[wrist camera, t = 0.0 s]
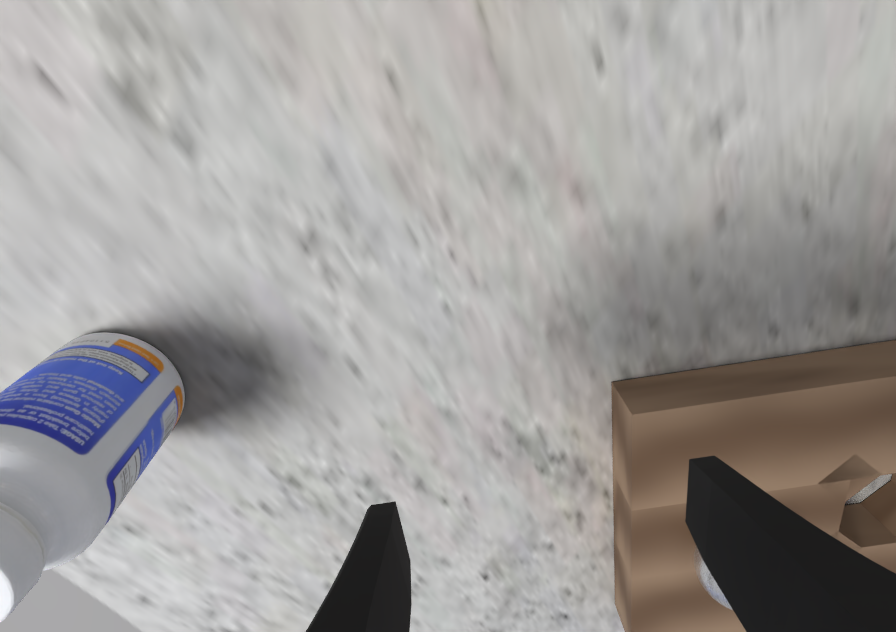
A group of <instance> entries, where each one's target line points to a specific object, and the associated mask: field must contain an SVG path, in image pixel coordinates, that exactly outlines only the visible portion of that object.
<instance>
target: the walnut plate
mask: <svg viewBox="0 0 896 632" xmlns="http://www.w3.org/2000/svg"><path fill="white" fill-rule="evenodd" d="M612 439H613V502H614V565H615V605H616V608H617V611H618V614H619V616H620V619H621V622H622V624H623V627H624V630H625V632H746V630H745V629H744V627H743V625H742V624H741V622H740V620H739V619H738V617H737V616H736V614H735V612H734V611H733V610H731V609H729V608H727V607H725V606H723V605H721V604H720V603H718V602H717V601H716V600H714V599H713V598H712V597H711V596H710V595H709V594H708V593H707V591H706V590H705V589H704V587H703V586H702V584H701V583H700V581H699V579H698V576H697V574H696V571H695V566H694V551H695V547H696V544H695V542H694V540H693V537H692V535H691V533H690V531H689V529H688V526H687V524H686V522H685V519H686V503H687V487H688V471H689V459H693V458H700V457H707V456H714V455H715V456H716V457H717V458H719V459H720V460H722V461H723V462H725V463H726V464H727V465H729V466H730V467H732V468H733V469H734V470H736V471H737V472H738V473H740V474H741V475H743V476H744V477H745V478H747V479H748V480H750V481H751V482H752V483H754V484H755V485H756V486H758V487H759V488H761V489H762V490H763V491H765V492H766V493H768V494H769V495H771V496H772V497H773V498H775V499H776V500H778V501H779V502H781V503H782V504H783V505H785V506H786V507H788V508H789V509H791V510H792V511H794V512H795V513H797V514H798V515H800V516H801V517H803V518H804V519H806V520H807V521H809V522H810V523H812V524H813V525H815V526H816V527H818V528H819V529H821V530H822V531H824V532H826V533H827V534H829V535H831V536H832V537H834V538H835V539H837V540H839V541H840V542H842V543H843V544H845V545H847V546H848V547H850V548H852V549H853V550H855V551H857V552H858V553H860V554H862V555H863V556H865V557H867V558H869V559H870V560H872V561H874V562H876V563H877V564H879V565H881V566H883V567H885V568H886V569H888V570H890V571H892V572H894V573H896V340H892V341H885V342H879V343H872V344H865V345H858V346H852V347H845V348H838V349H832V350H825V351H818V352H811V353H805V354H798V355H791V356H784V357H778V358H771V359H764V360H757V361H751V362H744V363H737V364H730V365H724V366H717V367H710V368H703V369H697V370H690V371H683V372H676V373H670V374H663V375H656V376H650V377H643V378H636V379H629V380H623V381H616V382H612ZM886 474H892V478H891V481H889V482H888V483H887V484H885V485H884V486H883V487H881V488H880V489H879V490H877V491H876V492H875V493H873V494H872V495H871V496H869V497H868V498H867V499H865V500H864V501H863V502H861V503H858V504H851V505H845V502H846V501H847V500H848V499H850V498H851V497H852V496H854V495H855V494H856V493H858V492H859V491H860V490H862V489H863V488H864V487H866V486H867V485H868V484H870V483H871V482H872V481H874V480H875V479H876V478H877V477H879V476H880V475H886Z"/></svg>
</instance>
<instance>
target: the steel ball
mask: <svg viewBox="0 0 896 632" xmlns="http://www.w3.org/2000/svg"><path fill="white" fill-rule="evenodd" d="M694 566H695V571H696V574H697V576H698V579H699V581H700V583H701V584H702V586H703V587H704V589H705V590H706V591H707V593H708V594H709V595H710V596H711V597H712V598H713V599H714V600H716V601H717V602H718V603H720V604H721V605H723V606H725V607H727V608H729V609H731V610H733V609H732V607H731V606H730V604H729V603H728V601H727V599H726V598H725V596H724V594H723V593H722V591H721V590H720V588H719V586H718V585H717V583H716V581H715V580H714V578H713V576H712V575H711V573H710V571H709V570H708V568H707V566H706V565H705V563H704V561H703V559H702V557H701V555H700V552H699V550H698V548H697V546H696V547H695V551H694Z"/></svg>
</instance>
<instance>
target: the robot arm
mask: <svg viewBox="0 0 896 632" xmlns="http://www.w3.org/2000/svg"><path fill="white" fill-rule="evenodd" d="M685 522H686V524H687V526H688V529H689V531H690V533H691V535H692V537H693V540H694V542H695V544H696V546H697V548H698V550H699V552H700V555H701V557H702V559H703V561H704V563H705V565H706V566H707V568H708V570H709V571H710V573H711V575H712V576H713V578H714V580H715V581H716V583H717V585H718V586H719V588H720V590H721V591H722V593H723V594H724V596H725V598H726V599H727V601H728V603H729V604H730V606H731V607H732V609H733V611H734V612H735V614H736V616H737V617H738V619H739V620H740V622H741V624H742V625H743V627H744V629H745V630H746V632H896V573H894V572H892V571H890V570H888V569H886V568H885V567H883V566H881V565H879V564H877V563H876V562H874V561H872V560H870V559H869V558H867V557H865V556H863V555H862V554H860V553H858V552H857V551H855V550H853V549H852V548H850V547H848V546H847V545H845V544H843V543H842V542H840V541H839V540H837V539H835V538H834V537H832V536H831V535H829V534H827V533H826V532H824V531H822V530H821V529H819V528H818V527H816V526H815V525H813V524H812V523H810V522H809V521H807V520H806V519H804V518H803V517H801V516H800V515H798V514H797V513H795V512H794V511H792V510H791V509H789V508H788V507H786V506H785V505H783V504H782V503H781V502H779V501H778V500H776V499H775V498H773V497H772V496H771V495H769V494H768V493H766V492H765V491H763V490H762V489H761V488H759V487H758V486H756V485H755V484H754V483H752V482H751V481H750V480H748V479H747V478H745V477H744V476H743V475H741V474H740V473H738V472H737V471H736V470H734V469H733V468H732V467H730V466H729V465H727V464H726V463H725V462H723V461H722V460H720V459H719V458H717V457H716V456H715V455H714V456H707V457H700V458H693V459H689V471H688V487H687V503H686V519H685ZM410 615H411V569H410V558H409V554H408V550H407V546H406V542H405V538H404V534H403V530H402V526H401V522H400V518H399V514H398V510H397V506H396V502H390V503H383V504H376V505H371V506H370V507H369V508H368V509H367V512H366V514H365V517H364V519H363V522H362V524H361V527H360V529H359V531H358V534H357V536H356V538H355V540H354V543H353V545H352V547H351V549H350V551H349V553H348V555H347V557H346V559H345V561H344V563H343V565H342V567H341V569H340V571H339V573H338V575H337V577H336V579H335V581H334V583H333V585H332V587H331V589H330V591H329V592H328V594H327V596H326V598H325V600H324V601H323V603H322V605H321V607H320V608H319V610H318V612H317V614H316V615H315V617H314V619H313V621H312V622H311V624H310V626H309V627H308V629H307V630H306V632H409V628H410Z"/></svg>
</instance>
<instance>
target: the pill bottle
mask: <svg viewBox="0 0 896 632" xmlns="http://www.w3.org/2000/svg"><path fill="white" fill-rule="evenodd" d="M184 403H185V392H184V387H183V383H182V380H181V378H180V376H179V373H178V372H177V370H176V368H175V367H174V365H173V364H172V363H171V361H170V360H169V359H168V358H167V357H166V356H165V355H164V354H163V353H161V352H160V351H159V350H158V349H156V348H155V347H153V346H152V345H150V344H148V343H146V342H144V341H142V340H139V339H137V338H134V337H131V336H127V335H123V334H118V333H106V332H103V333H92V334H87V335H84V336H81V337H78V338H76V339H74V340H72V341H70V342H68V343H67V344H65V345H64V346H62V347H61V348H59V349H58V350H57V351H55V352H54V353H53V354H51V355H50V356H49V357H47V358H46V359H45V360H43V361H42V362H41V363H39V364H38V365H37V366H36V367H34V368H33V369H31V370H30V371H29V372H28V373H26V374H25V375H24V376H22V377H21V378H20V379H18V380H17V381H16V382H14V383H13V384H12V385H10V386H9V387H8V388H6V389H5V390H4V391H2V392H1V393H0V622H2V621H3V620H4V619H5V618H7V617H8V616H9V615H10V613H12V611H13V610H14V609H15V608H16V606H17V605H18V604H19V603H20V602H21V600H22V599H23V598H24V597H25V596H26V594H27V593H28V592H29V591H30V590H31V589H32V588H33V586H34V585H35V584H36V583H37V582H38V580H39V578H40V576H41V574H42V571H43V570H48V569H51V568H54V567H57V566H60V565H62V564H65V563H67V562H69V561H70V560H72V559H74V558H75V557H77V556H78V555H80V554H81V553H82V552H84V551H85V550H86V549H87V548H88V547H89V546H90V544H91V543H92V542H93V541H94V540H95V538H96V537H97V536H98V534H99V533H100V532H101V530H102V529H103V528H104V526H105V525H106V524H107V522H108V521H109V519H110V518H111V516H112V515H113V514H114V512H115V511H116V509H117V508H118V506H119V505H120V504H121V502H122V501H123V499H124V498H125V497H126V495H127V494H128V492H129V491H130V489H131V488H132V486H133V485H134V484H135V482H136V481H137V479H138V478H139V477H140V475H141V474H142V472H143V471H144V469H145V468H146V467H147V465H148V464H149V462H150V461H151V460H152V458H153V457H154V455H155V454H156V452H157V451H158V450H159V448H160V447H161V446H162V444H163V443H164V441H165V440H166V438H167V437H168V436H169V434H170V433H171V431H172V430H173V429H174V427H175V425H176V424H177V422H178V420H179V418H180V416H181V414H182V411H183V408H184Z"/></svg>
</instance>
